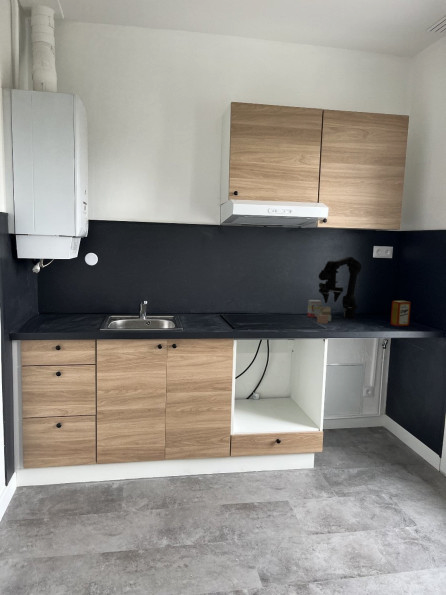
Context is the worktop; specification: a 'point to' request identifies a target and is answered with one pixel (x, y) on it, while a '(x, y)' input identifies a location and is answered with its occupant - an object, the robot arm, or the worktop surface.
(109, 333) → the worktop surface
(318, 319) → the terracotta cube
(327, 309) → the maple cube
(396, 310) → the baking soda box
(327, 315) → the sage block
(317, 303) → the ink box
